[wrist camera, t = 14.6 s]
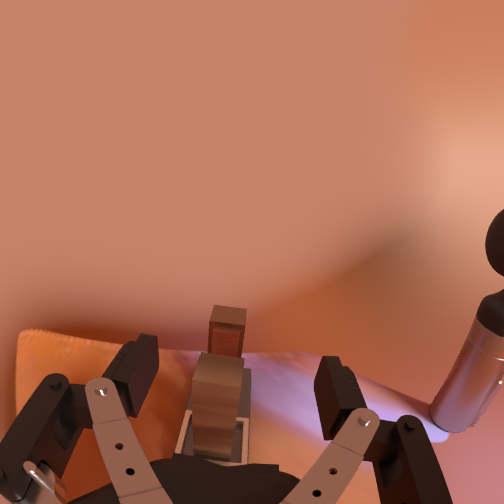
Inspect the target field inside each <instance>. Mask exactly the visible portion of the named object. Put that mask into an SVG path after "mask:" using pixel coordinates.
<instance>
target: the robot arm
mask: <svg viewBox="0 0 504 504" xmlns="http://www.w3.org/2000/svg"><path fill="white" fill-rule="evenodd" d="M485 248H486V255H487V258H488V261H489V263H490V265H491V266H492V268H493V269H494V270H495V271H496V272H497V273H498V274H500V275H502V276H504V209H503V210H502V211H501V212H500V213H498V214H497V216H496V217H495V218H494V220H493V221H492V223H491V225H490V227H489V229H488V232H487V236H486V243H485ZM158 368H159V352H158V341H157V336H154V335H149V334H144V333H141V334H140V336H139V337H138V339H137V340H136V342H134V341H129V342H128V343H126V344H125V345H123V346H122V348H121V349H120V350H119V352H118V353H117V355H116V356H115V359H113V361H112V362H111V363H110V365H109V366H108V368H107V369H106V371H105V372H104V374H103V375H102V377H98V378H94V379H92V380H90V381H89V382H88V383H87V384H86V385H80V384H70V383H69V381H68V379H67V377H66V376H64V375H62V374H59V373H54V374H50V375H48V376H46V377H45V378H44V379H43V380H42V382H41V383H40V385H39V386H38V387H37V389H36V390H35V391H34V393H33V394H32V396H31V397H30V398H29V400H28V401H27V403H26V404H25V406H24V407H23V409H22V410H21V411H20V413H19V414H18V416H17V417H16V419H15V421H14V422H13V424H12V425H11V427H10V428H9V430H8V432H7V433H6V435H5V437H4V438H3V439H2V441H1V443H0V494H1V495H2V496H3V497H4V498H5V499H7V500H8V501H9V502H10V503H12V504H66V501H65V495H66V488H65V485H64V483H63V482H62V481H61V477H62V475H63V473H64V470H65V468H66V466H67V463H68V461H69V459H70V457H71V454H72V452H73V450H74V448H75V446H76V443H77V441H78V439H79V437H80V435H81V433H82V431H83V429H84V428H89V429H93V430H94V433H95V436H96V439H97V443H98V446H99V449H100V452H101V455H102V457H103V460H104V463H105V466H106V468H107V471H108V473H109V476H110V478H111V481H112V482H111V483H109V484H107V485H105V486H103V487H101V488H99V489H97V490H95V491H92V492H90V493H88V494H86V495H84V496H81V497H79V498H77V499H74V500H72V501H70V502H68V503H67V504H335V503H336V502H337V500H338V499H339V498H340V496H341V495H342V493H343V492H344V490H345V488H346V487H347V485H348V484H349V482H350V481H351V479H352V477H353V476H354V474H355V472H356V471H357V469H358V467H359V466H360V464H361V462H362V461H369V462H372V463H373V468H374V473H375V477H376V482H377V487H378V492H379V497H380V502H381V504H453V502H452V500H451V496H450V493H449V490H448V487H447V484H446V482H445V479H444V476H443V473H442V471H441V468H440V465H439V463H438V460H437V457H436V455H435V452H434V450H433V447H432V445H431V442H430V440H429V438H428V435H427V433H426V431H425V428H424V426H423V424H422V422H421V421H420V420H419V419H418V418H417V417H415V416H412V415H404V416H401V417H400V418H399V419H398V420H397V422H392V421H386V420H381V419H379V416H378V415H377V414H376V413H375V412H374V411H372V410H370V409H368V408H367V406H366V403H365V400H364V398H363V395H362V393H361V390H360V388H359V385H358V382H357V380H356V377H355V375H354V373H353V372H352V371H351V370H350V369H349V368H348V367H347V366H342V364H341V361H340V359H339V357H338V356H323V357H322V359H321V362H320V365H319V368H318V371H317V374H316V377H315V380H314V392H315V397H316V402H317V407H318V412H319V417H320V422H321V427H322V432H323V437H324V440H332V441H331V442H330V444H329V445H328V446H327V448H326V449H325V450H324V452H323V453H322V454H321V456H320V457H319V458H318V460H317V461H316V462H315V464H314V465H313V466H312V467H311V469H310V470H309V471H308V472H307V473H306V475H305V476H304V477H303V478H302V479H301V480H300V479H298V478H296V477H295V476H293V475H290V474H288V473H285V472H281V471H279V465H275V464H245V465H236V466H222V465H219V464H216V463H214V462H211V461H208V460H205V459H203V458H200V457H195V456H189V455H184V454H179V453H174V454H173V457H172V459H160V460H155V461H152V462H148V460H147V458H146V456H145V454H144V452H143V450H142V448H141V446H140V444H139V441H138V439H137V437H136V435H135V433H134V430H133V428H132V426H131V423H130V421H129V419H128V417H129V416H131V417H134V418H137V416H138V413H139V411H140V409H141V407H142V404H143V402H144V400H145V398H146V395H147V393H148V391H149V389H150V387H151V384H152V382H153V380H154V378H155V376H156V373H157V371H158ZM503 375H504V289H503V290H501V291H500V292H498V293H495V294H492V295H488V296H486V297H484V298H483V300H482V301H481V303H480V306H479V308H478V311H477V314H476V316H475V319H474V321H473V324H472V326H471V328H470V331H469V333H468V336H467V338H466V340H465V342H464V344H463V347H462V349H461V351H460V353H459V355H458V357H457V359H456V361H455V363H454V365H453V367H452V369H451V371H450V372H449V374H448V377H447V378H446V380H445V382H444V383H443V385H442V387H441V389H440V390H439V392H438V394H437V395H436V397H435V398H434V400H433V402H432V403H431V405H430V415H431V417H432V419H433V421H434V422H435V423H436V424H437V425H438V426H439V427H440V428H442V429H443V430H446V431H448V432H452V433H459V432H463V431H465V430H466V429H467V428H469V427H473V426H474V425H475V424H476V422H477V421H478V420H479V418H480V417H481V416H482V414H483V413H484V412H485V410H486V409H487V407H488V406H489V404H490V403H491V401H492V400H493V398H494V397H495V395H496V394H497V392H498V391H499V389H500V387H501V386H502V384H503V381H502V377H503Z"/></svg>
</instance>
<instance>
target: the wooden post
mask: <svg viewBox="0 0 504 504" xmlns="http://www.w3.org/2000/svg"><path fill="white" fill-rule="evenodd" d="M243 366H244V358H236V357H229V356H222V355H216V354H210V353H204V352H201V354H200V357H199V360H198V363H197V366H196V369H195V372H194V375H193V378H192V428H193V453H197V454H202V455H208V456H214V457H220V458H228V459H230V456H231V449H232V443H233V437H234V430H235V424H236V417H237V411H238V404H239V398H240V391H241V384H242V375H243Z"/></svg>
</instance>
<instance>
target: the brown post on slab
mask: <svg viewBox="0 0 504 504" xmlns="http://www.w3.org/2000/svg"><path fill="white" fill-rule="evenodd" d="M246 310H247V309H242V308H234V307H227V306H218V305H214V308H213V311H212V314H211V318H210V321H209V338H208V353H210V354H216V355H222V356H229V357H236V358H241V354H242V347H243V339H244V332H245V324H246ZM250 391H251V369H246V368H243V375H242V384H241V391H240V398H239V404H238V411H237V417H236V424H235V430H234V437H233V443H232V449H231V456H230V459H228V458H220V457H214V456H208V455H202V454H197V453H193V428H192V391H191V394H190V398H189V401H188V405H187V408H186V412H185V416H184V419H183V423H182V427H181V430H180V434H179V438H178V441H177V445H176V449H175V453H179V454H184V455H189V456H195V457H200V458H203V459H205V460H208V461H211V462H214V463H216V464H219V465H222V466H236V465H245V464H248V455H249V424H250Z"/></svg>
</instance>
